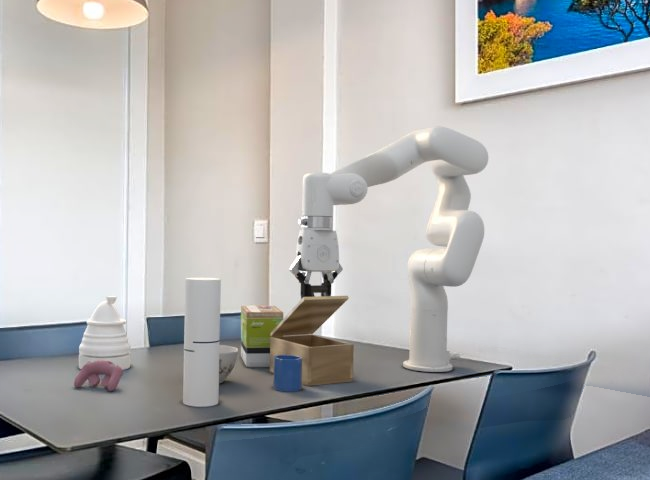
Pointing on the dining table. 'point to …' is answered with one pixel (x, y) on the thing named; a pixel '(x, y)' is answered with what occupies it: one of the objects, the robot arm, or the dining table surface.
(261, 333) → the tea box
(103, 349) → the honey pot
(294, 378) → the cup
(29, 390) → the dining table surface
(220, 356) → the teacup
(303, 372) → the wooden box
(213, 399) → the cylindrical container
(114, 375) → the video game controller
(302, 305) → the lid
